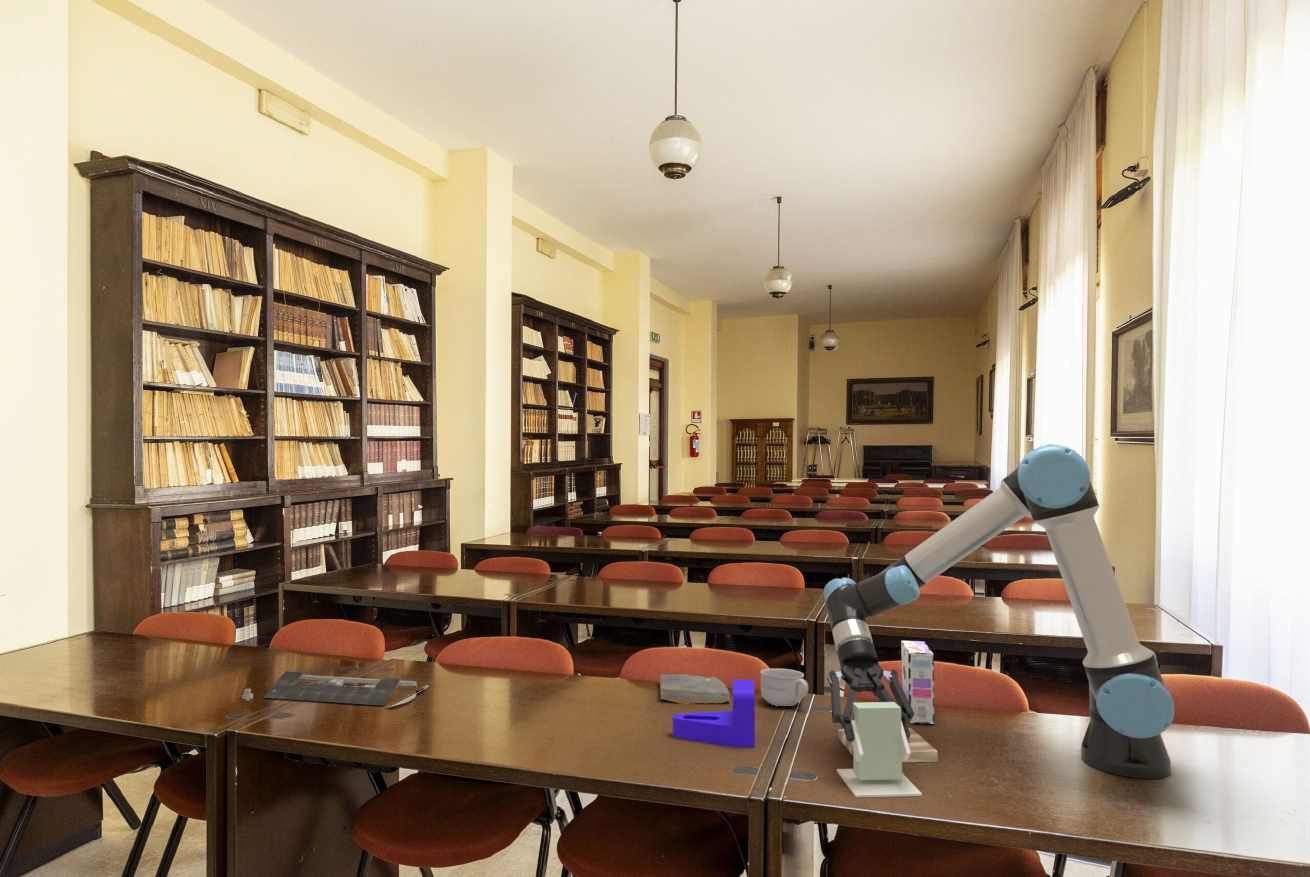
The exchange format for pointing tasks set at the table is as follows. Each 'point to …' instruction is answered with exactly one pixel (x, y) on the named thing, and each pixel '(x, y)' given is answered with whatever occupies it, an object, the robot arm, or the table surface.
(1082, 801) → the table surface
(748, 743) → the bracket
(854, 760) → the tall mint prism
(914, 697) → the candy box
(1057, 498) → the robot arm
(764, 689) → the teacup
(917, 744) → the wooden square base
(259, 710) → the table surface
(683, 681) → the fossil
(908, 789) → the white square tile
